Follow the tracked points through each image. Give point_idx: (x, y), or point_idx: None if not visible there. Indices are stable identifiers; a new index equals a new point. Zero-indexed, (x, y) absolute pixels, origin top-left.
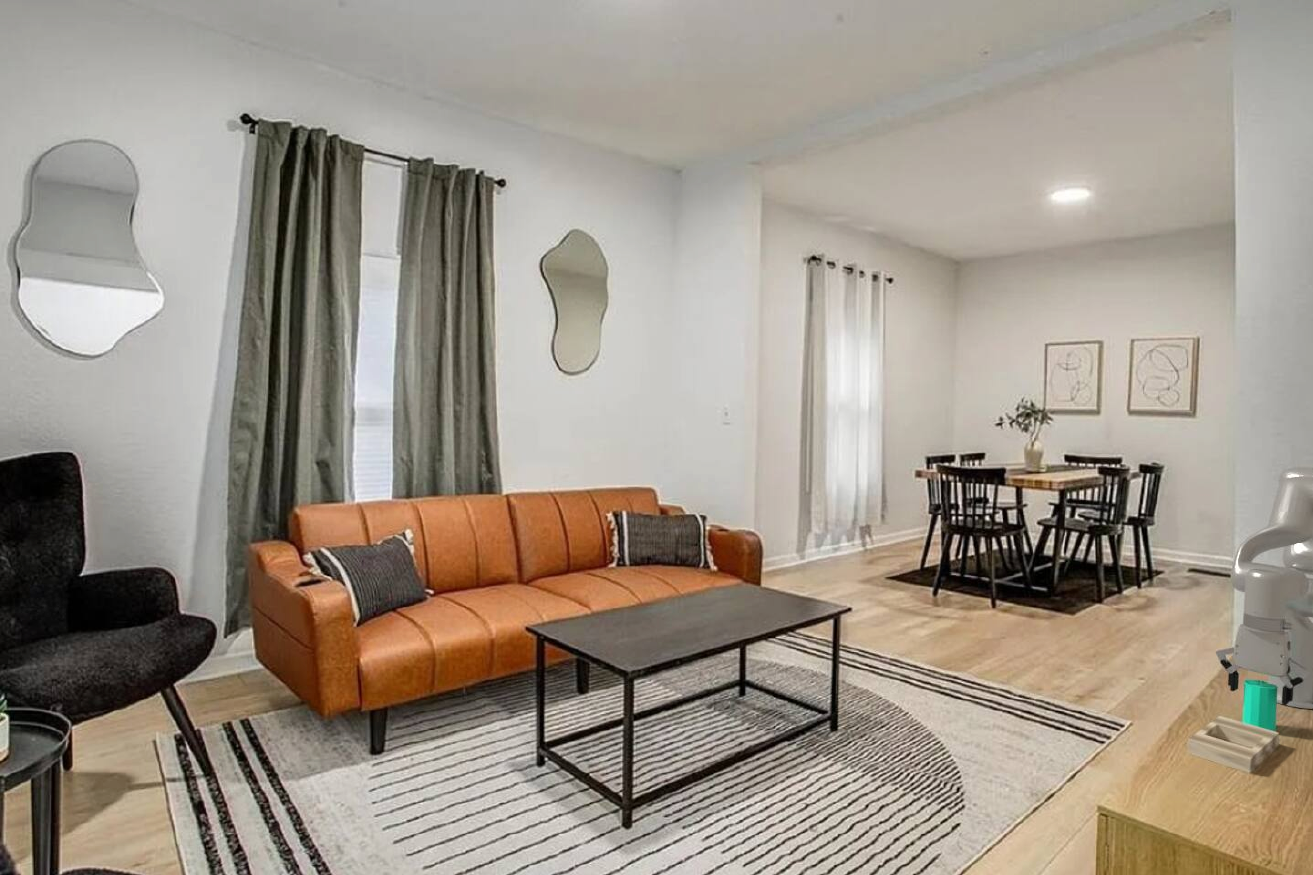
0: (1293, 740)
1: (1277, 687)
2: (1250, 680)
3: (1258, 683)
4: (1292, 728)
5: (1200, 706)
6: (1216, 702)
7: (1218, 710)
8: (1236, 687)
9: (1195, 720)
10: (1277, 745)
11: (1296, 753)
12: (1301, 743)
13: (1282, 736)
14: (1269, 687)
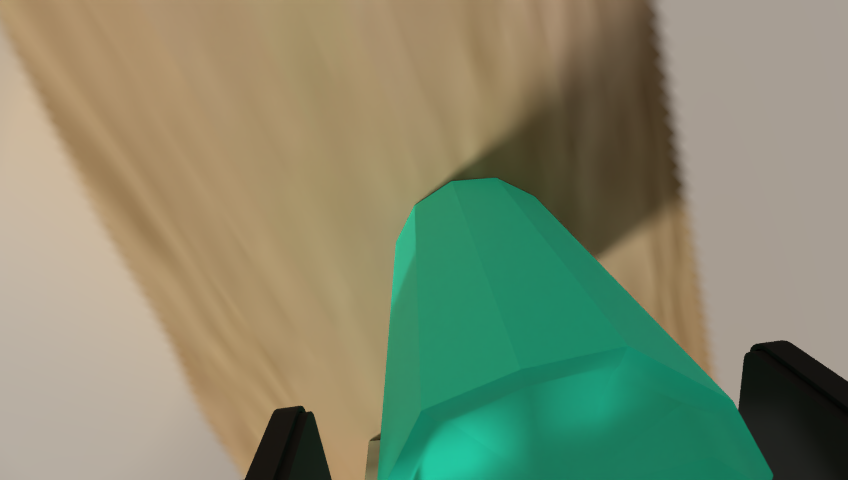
0: (656, 274)
1: (766, 472)
2: (411, 473)
3: (507, 438)
4: (608, 69)
5: (110, 220)
6: (82, 20)
7: (203, 185)
8: (320, 473)
9: (254, 441)
10: None
11: None
12: (694, 279)
13: None
14: (657, 473)
